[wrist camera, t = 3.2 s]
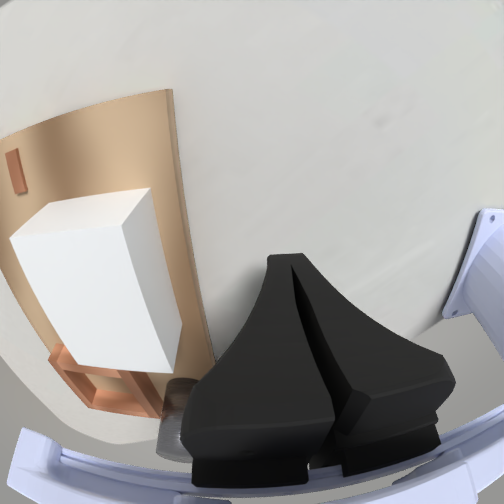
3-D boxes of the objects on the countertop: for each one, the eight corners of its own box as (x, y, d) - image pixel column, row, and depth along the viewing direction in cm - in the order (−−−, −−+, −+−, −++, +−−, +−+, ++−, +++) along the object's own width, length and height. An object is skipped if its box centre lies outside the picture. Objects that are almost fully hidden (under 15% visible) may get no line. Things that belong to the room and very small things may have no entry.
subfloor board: (172, 88, 9) (152, 90, 7) (223, 397, 20) (223, 426, 18) (-25, 153, 9) (-55, 169, 7) (87, 386, 20) (79, 410, 18)
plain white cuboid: (150, 187, 10) (121, 225, 7) (182, 323, 14) (173, 373, 11) (49, 202, 10) (9, 237, 7) (96, 321, 14) (78, 364, 11)
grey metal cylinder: (207, 377, 16) (202, 451, 12) (214, 399, 18) (211, 464, 14) (161, 376, 16) (149, 446, 12) (172, 398, 18) (164, 460, 14)
